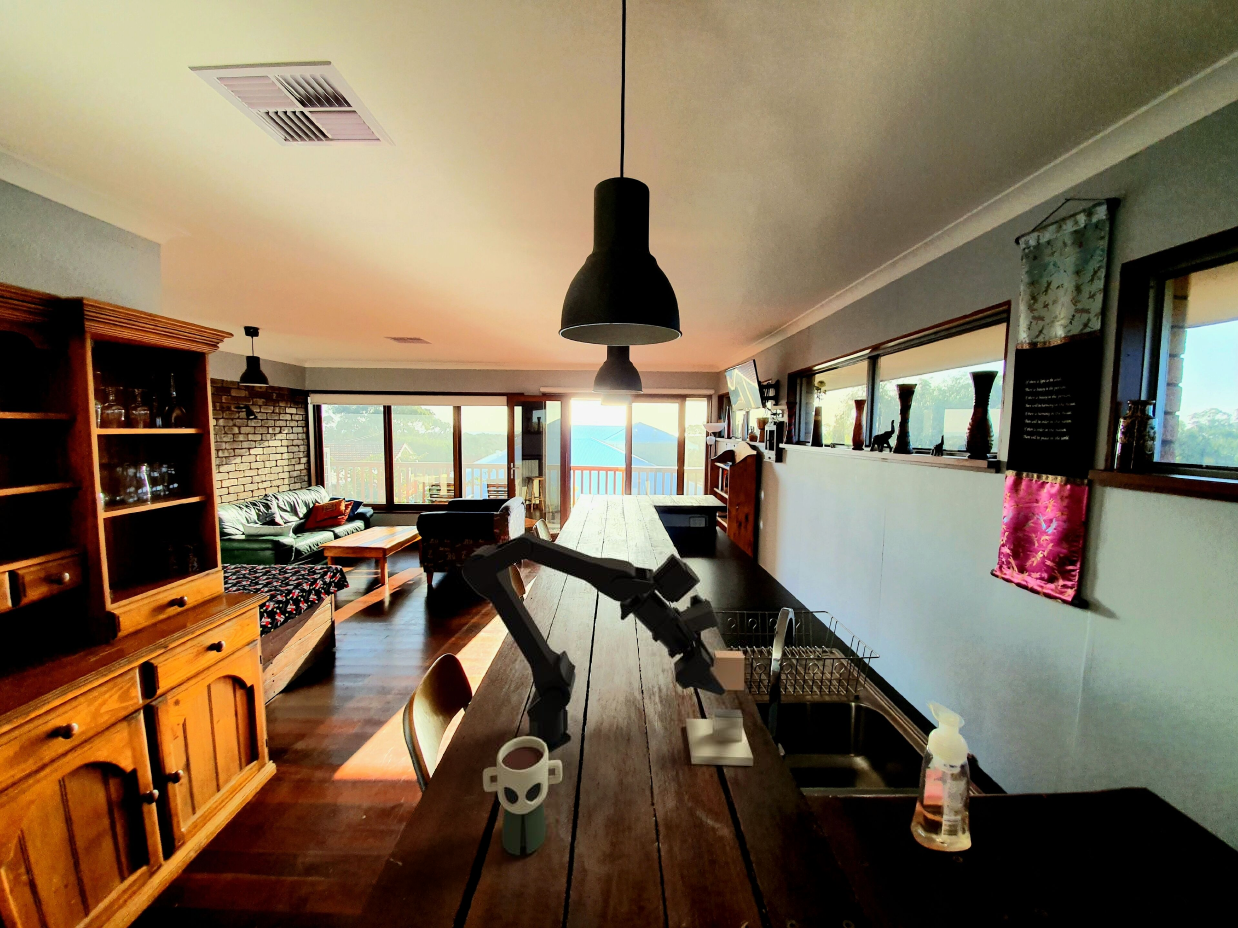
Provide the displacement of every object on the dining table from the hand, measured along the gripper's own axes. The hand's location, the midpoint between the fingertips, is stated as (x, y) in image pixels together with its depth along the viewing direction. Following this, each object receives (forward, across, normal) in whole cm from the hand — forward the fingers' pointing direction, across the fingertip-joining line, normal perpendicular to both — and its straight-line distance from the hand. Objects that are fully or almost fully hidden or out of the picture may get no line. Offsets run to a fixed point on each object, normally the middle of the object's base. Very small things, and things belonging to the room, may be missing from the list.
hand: (718, 678), depth 83 cm
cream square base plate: (+9, 0, +9) cm, 13 cm away
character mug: (-12, -20, +31) cm, 39 cm away
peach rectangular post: (+2, 0, 0) cm, 2 cm away
